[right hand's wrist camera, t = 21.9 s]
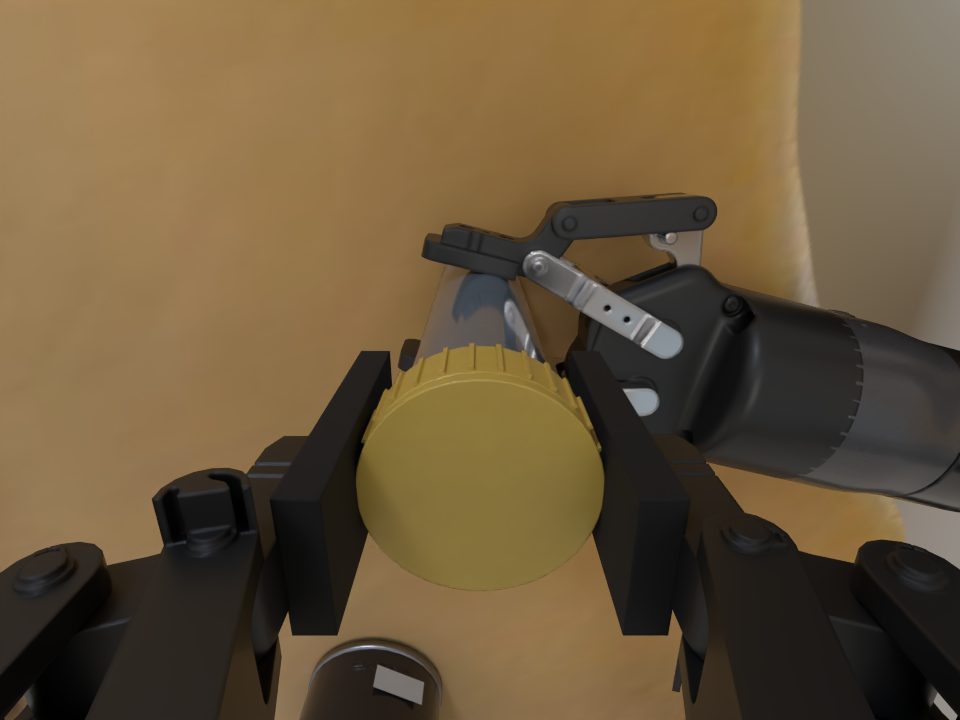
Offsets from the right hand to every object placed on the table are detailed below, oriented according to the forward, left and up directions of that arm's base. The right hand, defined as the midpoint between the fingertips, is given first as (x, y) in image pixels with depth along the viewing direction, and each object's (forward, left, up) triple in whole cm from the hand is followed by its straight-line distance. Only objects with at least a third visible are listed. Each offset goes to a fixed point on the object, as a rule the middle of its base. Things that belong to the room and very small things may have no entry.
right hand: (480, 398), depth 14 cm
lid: (0, 0, +4) cm, 4 cm away
